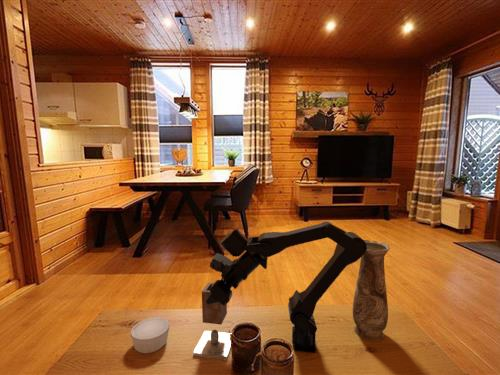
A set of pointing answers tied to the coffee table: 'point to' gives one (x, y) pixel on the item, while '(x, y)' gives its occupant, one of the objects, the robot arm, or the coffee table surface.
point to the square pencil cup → (212, 308)
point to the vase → (371, 293)
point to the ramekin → (150, 334)
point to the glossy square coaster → (213, 345)
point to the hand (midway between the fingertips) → (210, 297)
